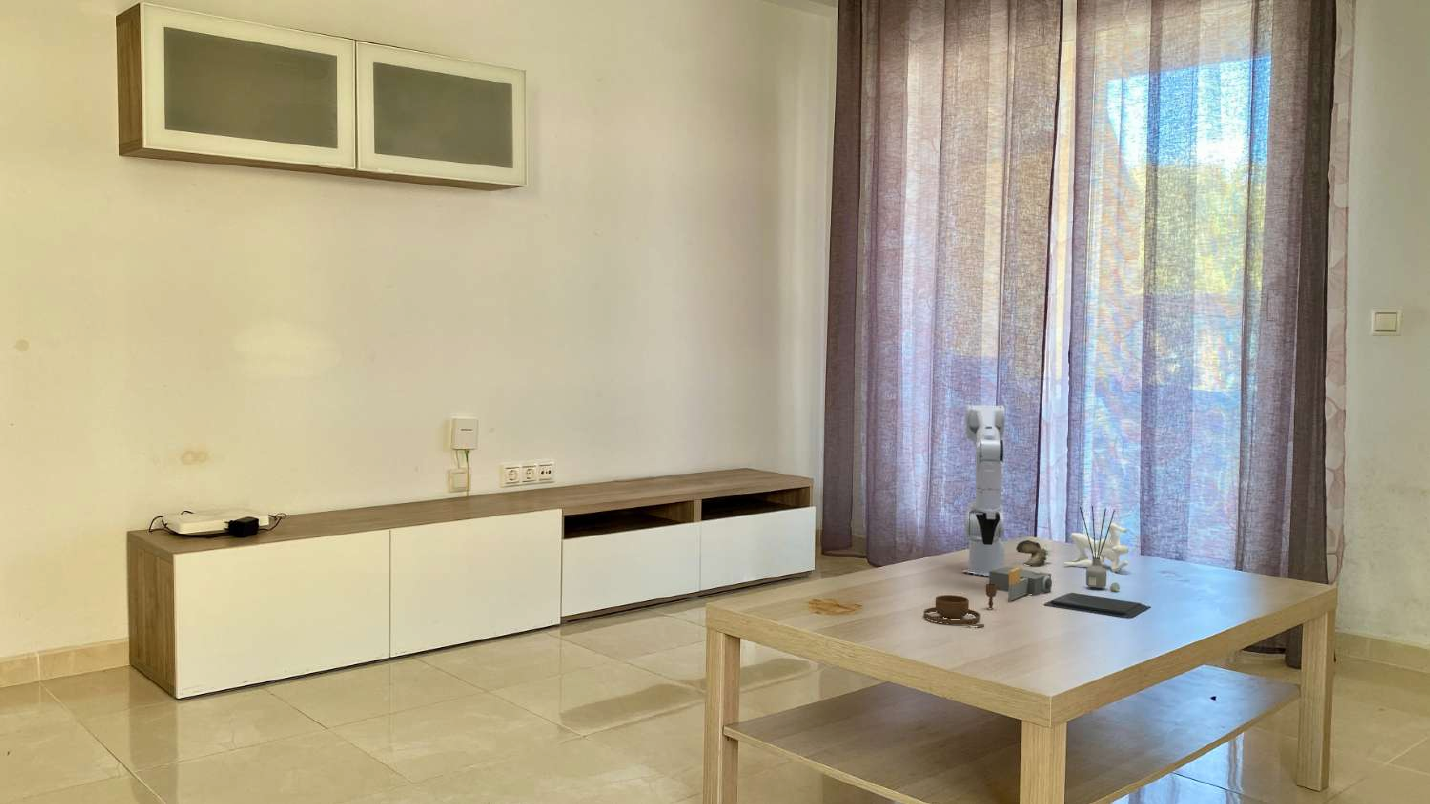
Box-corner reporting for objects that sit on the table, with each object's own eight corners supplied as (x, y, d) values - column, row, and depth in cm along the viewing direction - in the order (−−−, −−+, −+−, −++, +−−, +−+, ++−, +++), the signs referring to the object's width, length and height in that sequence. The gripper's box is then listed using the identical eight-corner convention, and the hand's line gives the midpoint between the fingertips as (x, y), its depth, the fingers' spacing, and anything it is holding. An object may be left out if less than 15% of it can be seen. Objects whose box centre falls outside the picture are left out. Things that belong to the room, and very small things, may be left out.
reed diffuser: (1074, 587, 270) (1076, 506, 269) (1083, 583, 276) (1085, 503, 275) (1116, 593, 264) (1119, 510, 263) (1125, 588, 270) (1127, 506, 269)
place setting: (909, 612, 245) (909, 586, 245) (992, 608, 249) (992, 582, 249) (942, 632, 228) (943, 604, 227) (1031, 628, 232) (1032, 600, 232)
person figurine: (1056, 526, 297) (1125, 520, 287) (1071, 530, 308) (1138, 525, 297) (1060, 575, 294) (1130, 571, 284) (1075, 577, 304) (1143, 574, 294)
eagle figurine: (1024, 555, 306) (1009, 553, 300) (1040, 535, 304) (1025, 532, 298) (1044, 573, 302) (1029, 572, 295) (1060, 553, 300) (1045, 551, 293)
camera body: (1005, 582, 275) (1005, 564, 274) (1053, 591, 266) (1054, 572, 266) (989, 587, 269) (989, 569, 268) (1037, 596, 260) (1038, 577, 260)
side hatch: (1007, 599, 254) (1008, 571, 254) (1023, 592, 262) (1024, 564, 262) (1012, 600, 254) (1013, 571, 253) (1028, 593, 261) (1028, 565, 261)
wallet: (1040, 599, 251) (1067, 589, 263) (1040, 607, 251) (1067, 596, 263) (1129, 614, 238) (1153, 602, 250) (1129, 622, 238) (1153, 610, 250)
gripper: (969, 484, 276) (968, 538, 277) (974, 491, 262) (973, 548, 263) (998, 485, 275) (997, 539, 276) (1005, 492, 261) (1003, 550, 262)
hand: (987, 544), depth 269 cm, fingers closed
